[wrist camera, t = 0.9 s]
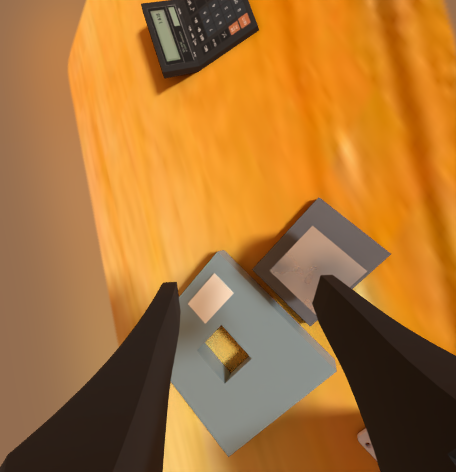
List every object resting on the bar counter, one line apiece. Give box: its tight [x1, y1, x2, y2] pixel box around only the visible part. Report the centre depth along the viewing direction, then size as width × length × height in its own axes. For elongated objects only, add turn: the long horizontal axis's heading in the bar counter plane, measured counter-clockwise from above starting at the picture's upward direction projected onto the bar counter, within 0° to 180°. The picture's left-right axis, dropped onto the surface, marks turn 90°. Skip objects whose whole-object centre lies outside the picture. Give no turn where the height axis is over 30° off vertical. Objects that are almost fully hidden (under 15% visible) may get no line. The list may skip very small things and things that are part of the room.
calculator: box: [141, 0, 259, 78], centre depth 26 cm, size 9×12×3 cm
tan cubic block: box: [270, 226, 367, 315], centre depth 20 cm, size 5×5×5 cm
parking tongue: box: [252, 198, 391, 326], centre depth 23 cm, size 8×10×1 cm
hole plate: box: [171, 250, 337, 457], centre depth 26 cm, size 16×16×2 cm
